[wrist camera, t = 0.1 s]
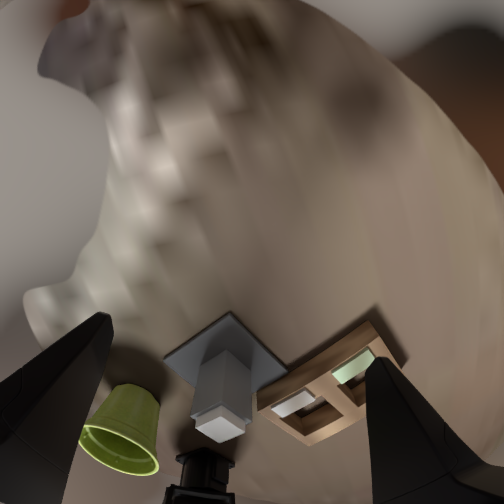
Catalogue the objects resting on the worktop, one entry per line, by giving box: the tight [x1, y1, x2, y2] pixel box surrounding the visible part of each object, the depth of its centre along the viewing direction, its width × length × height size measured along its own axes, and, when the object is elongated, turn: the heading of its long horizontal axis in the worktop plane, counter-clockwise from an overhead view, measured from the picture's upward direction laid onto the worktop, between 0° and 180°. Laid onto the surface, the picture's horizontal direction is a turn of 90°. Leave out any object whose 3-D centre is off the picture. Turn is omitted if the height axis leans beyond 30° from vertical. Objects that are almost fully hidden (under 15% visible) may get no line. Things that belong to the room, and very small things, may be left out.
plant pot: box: [78, 384, 160, 476], centre depth 25 cm, size 9×9×9 cm
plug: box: [190, 349, 252, 443], centre depth 23 cm, size 4×4×8 cm
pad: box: [163, 312, 288, 394], centre depth 27 cm, size 9×9×1 cm
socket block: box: [257, 320, 405, 446], centre depth 27 cm, size 14×10×3 cm
